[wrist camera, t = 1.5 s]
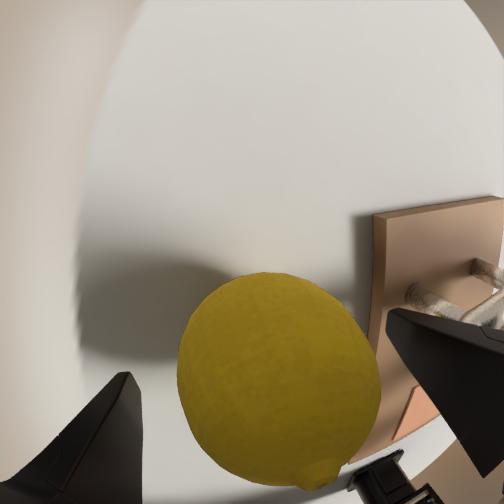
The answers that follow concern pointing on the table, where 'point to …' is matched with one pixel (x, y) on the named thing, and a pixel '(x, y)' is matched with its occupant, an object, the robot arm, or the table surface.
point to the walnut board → (431, 276)
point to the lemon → (277, 381)
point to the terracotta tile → (416, 412)
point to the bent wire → (484, 314)
